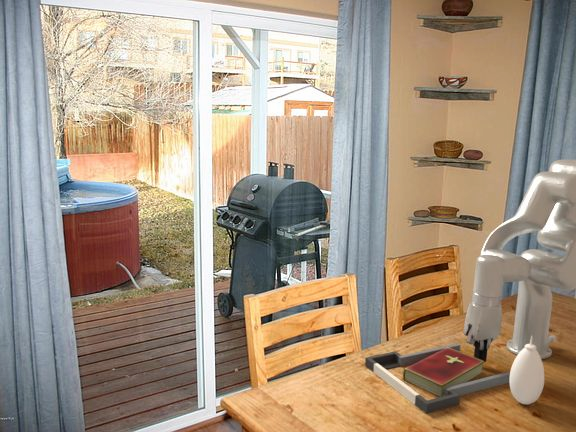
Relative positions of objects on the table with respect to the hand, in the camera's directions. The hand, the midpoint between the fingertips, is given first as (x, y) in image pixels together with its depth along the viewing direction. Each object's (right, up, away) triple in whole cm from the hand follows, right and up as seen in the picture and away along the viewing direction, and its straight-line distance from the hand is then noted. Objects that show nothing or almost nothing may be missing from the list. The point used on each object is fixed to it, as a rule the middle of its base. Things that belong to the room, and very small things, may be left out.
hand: (479, 360), depth 152 cm
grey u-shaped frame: (-13, -3, -5) cm, 14 cm away
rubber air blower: (+5, -6, -18) cm, 20 cm away
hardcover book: (-12, -3, -5) cm, 14 cm away
